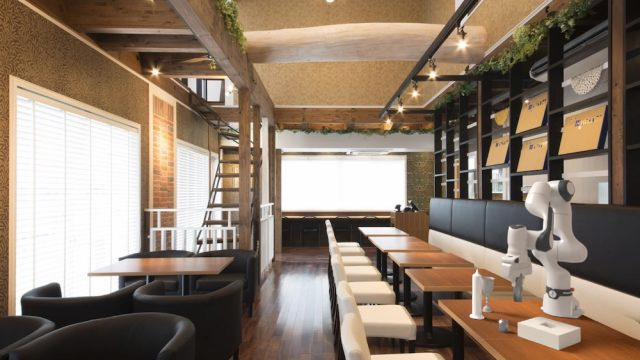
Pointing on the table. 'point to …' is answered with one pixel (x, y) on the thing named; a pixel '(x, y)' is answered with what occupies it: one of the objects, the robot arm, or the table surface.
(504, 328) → the short pin
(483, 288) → the chalice
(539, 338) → the hole block
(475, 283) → the candle
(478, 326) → the table surface
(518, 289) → the long pin
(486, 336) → the table surface
